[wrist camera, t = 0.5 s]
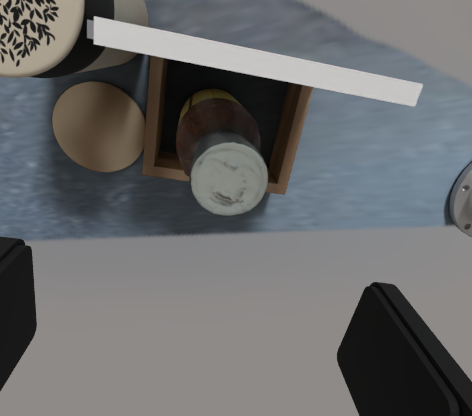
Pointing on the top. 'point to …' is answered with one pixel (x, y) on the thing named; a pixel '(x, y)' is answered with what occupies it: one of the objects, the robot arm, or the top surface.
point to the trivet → (99, 126)
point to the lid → (250, 61)
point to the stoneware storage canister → (60, 36)
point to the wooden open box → (169, 162)
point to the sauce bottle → (221, 153)
